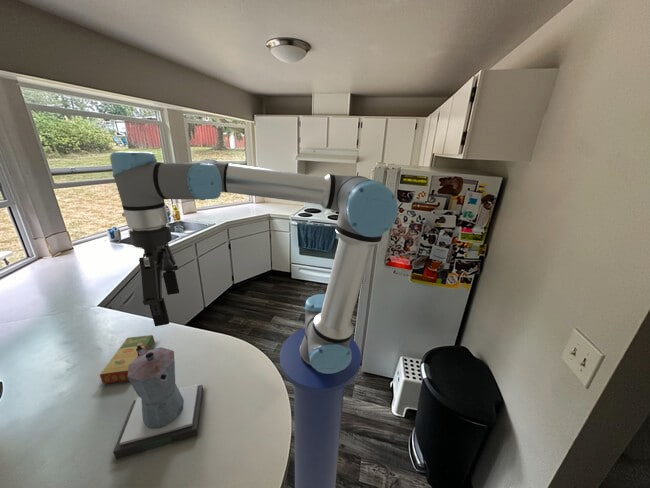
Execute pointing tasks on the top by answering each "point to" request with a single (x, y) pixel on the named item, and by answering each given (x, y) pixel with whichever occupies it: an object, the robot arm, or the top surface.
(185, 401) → the kitchen scale
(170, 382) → the moka pot
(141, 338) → the carton
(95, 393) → the top surface
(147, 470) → the top surface
